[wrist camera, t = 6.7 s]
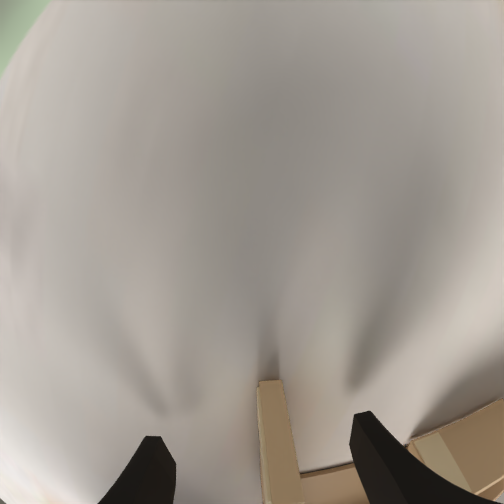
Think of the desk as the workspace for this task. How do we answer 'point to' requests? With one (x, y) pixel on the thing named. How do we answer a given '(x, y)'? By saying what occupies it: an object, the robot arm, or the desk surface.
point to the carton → (353, 487)
